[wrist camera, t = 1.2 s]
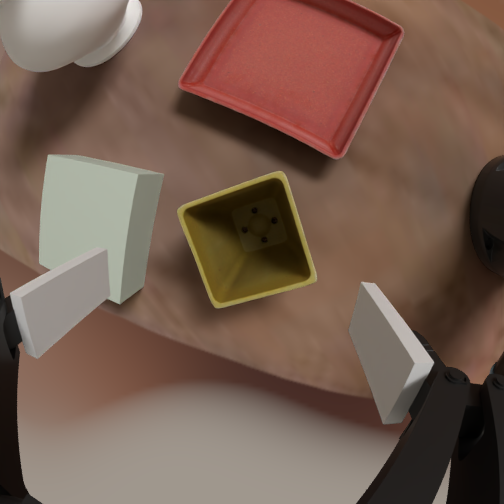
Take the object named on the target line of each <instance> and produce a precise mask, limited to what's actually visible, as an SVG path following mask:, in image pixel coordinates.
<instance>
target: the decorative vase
mask: <svg viewBox="0 0 504 504" xmlns="http://www.w3.org/2000/svg"><path fill="white" fill-rule="evenodd" d="M141 17H142V6H141V3H140V2H139V0H0V37H1V40H2V43H3V46H4V48H5V50H6V52H7V54H8V55H9V57H10V58H11V60H12V61H13V62H14V63H15V64H17V65H18V66H20V67H21V68H23V69H26V70H29V71H33V72H47V71H52V70H55V69H58V68H61V67H63V66H66V65H68V64H70V63H72V62H74V63H76V64H77V65H79V66H82V67H93V66H97V65H99V64H102V63H104V62H105V61H107V60H109V59H110V58H112V57H113V56H114V55H116V54H117V53H118V52H119V51H120V50H121V49H122V48H123V47H124V46H125V45H126V44H127V43H128V41H129V40H130V39H131V38H132V36H133V35H134V33H135V31H136V30H137V28H138V26H139V23H140V20H141Z"/></svg>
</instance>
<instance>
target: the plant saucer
mask: <svg viewBox="0 0 504 504" xmlns="http://www.w3.org/2000/svg"><path fill="white" fill-rule="evenodd" d="M403 36H404V30H403V28H402V27H401V26H399V25H398V24H396V23H394V22H392V21H391V20H389V19H387V18H385V17H383V16H382V15H380V14H378V13H376V12H374V11H372V10H370V9H368V8H366V7H364V6H361V5H359V4H357V3H355V2H353V1H351V0H231V1H230V2H229V4H228V5H227V6H226V8H225V9H224V10H223V12H222V13H221V14H220V16H219V17H218V19H217V20H216V21H215V23H214V24H213V26H212V27H211V29H210V30H209V32H208V33H207V35H206V36H205V38H204V39H203V41H202V42H201V44H200V46H199V47H198V49H197V50H196V52H195V54H194V55H193V57H192V58H191V60H190V62H189V63H188V65H187V67H186V69H185V70H184V72H183V74H182V75H181V77H180V79H179V81H178V86H179V88H180V89H181V90H184V91H187V92H189V93H192V94H195V95H197V96H200V97H202V98H205V99H208V100H210V101H213V102H215V103H218V104H220V105H222V106H225V107H227V108H230V109H232V110H234V111H236V112H239V113H242V114H244V115H246V116H248V117H251V118H253V119H255V120H257V121H260V122H262V123H264V124H266V125H268V126H270V127H273V128H275V129H277V130H279V131H281V132H283V133H285V134H287V135H289V136H291V137H293V138H295V139H297V140H299V141H301V142H303V143H305V144H307V145H308V146H310V147H312V148H314V149H316V150H318V151H319V152H321V153H323V154H325V155H327V156H329V157H330V158H332V159H335V160H338V159H341V158H343V156H344V155H345V153H346V151H347V150H348V148H349V146H350V144H351V142H352V140H353V138H354V136H355V134H356V132H357V130H358V128H359V126H360V124H361V122H362V120H363V118H364V117H365V115H366V112H367V110H368V108H369V106H370V104H371V102H372V100H373V98H374V96H375V94H376V92H377V91H378V88H379V86H380V84H381V82H382V80H383V78H384V76H385V74H386V72H387V70H388V68H389V66H390V64H391V62H392V60H393V58H394V55H395V53H396V51H397V49H398V47H399V45H400V43H401V41H402V39H403Z"/></svg>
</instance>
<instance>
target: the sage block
mask: <svg viewBox="0 0 504 504" xmlns="http://www.w3.org/2000/svg"><path fill="white" fill-rule="evenodd" d="M163 177H164V174H161V173H157V172H153V171H149V170H144V169H140V168H136V167H131V166H127V165H123V164H118V163H113V162H109V161H104V160H99V159H94V158H90V157H85V156H80V155H48V158H47V164H46V171H45V178H44V186H43V194H42V205H41V218H40V239H39V264H41V265H43V266H45V267H46V268H48V269H50V270H52V269H54V268H56V267H58V266H60V265H62V264H64V263H66V262H68V261H70V260H72V259H74V258H76V257H78V256H80V255H82V254H84V253H86V252H88V251H90V250H92V249H94V248H96V247H98V248H105V249H107V251H108V271H109V285H110V297H108V298H107V299H109V300H111V301H113V302H116V303H118V304H121V303H122V302H124V301H125V300H126V299H128V298H129V297H130V296H132V295H133V294H134V293H136V292H137V291H138V290H140V289H141V288H143V287H144V281H145V274H146V267H147V260H148V254H149V248H150V242H151V236H152V231H153V225H154V220H155V215H156V210H157V205H158V200H159V195H160V190H161V186H162V181H163Z"/></svg>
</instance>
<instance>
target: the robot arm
mask: <svg viewBox="0 0 504 504" xmlns="http://www.w3.org/2000/svg"><path fill="white" fill-rule="evenodd" d="M470 229H471V236H472V241H473V244H474V247H475V250H476V253H477V255H478V257H479V258H480V260H481V261H482V263H483V264H484V265H485V266H486V267H487V268H488V269H490V270H491V271H493V272H495V273H496V274H498V275H500V276H502V277H504V155H502V156H498V157H496V158H494V159H492V160H491V161H490V162H489V163H488V164H487V165H486V166H485V167H484V168H483V170H482V171H481V173H480V175H479V177H478V179H477V181H476V184H475V187H474V190H473V194H472V199H471V206H470ZM108 297H110V285H109V271H108V251H107V249H105V248H98V247H96V248H94V249H92V250H90V251H88V252H86V253H84V254H82V255H80V256H78V257H76V258H74V259H72V260H70V261H68V262H66V263H64V264H62V265H60V266H58V267H56V268H54V269H52V270H51V271H49V272H47V273H45V274H43V275H41V276H39V277H38V278H36V279H34V280H32V281H30V282H28V283H27V284H25V285H23V286H21V287H20V288H18V289H17V290H14V291H13V292H11V293H10V296H8V297H6V298H5V297H4V293H3V288H2V283H1V278H0V504H42V503H41V502H39V501H38V500H36V499H35V498H33V497H32V496H30V494H29V493H28V491H27V489H26V487H25V485H24V481H23V476H22V469H21V462H20V453H19V442H18V426H17V384H18V366H19V356H20V351H19V348H18V344H19V343H20V342H23V345H24V348H25V351H26V353H27V354H29V355H31V356H33V357H35V358H37V359H38V358H39V357H40V356H41V355H42V354H44V353H45V352H46V351H47V350H48V349H49V348H50V347H51V346H52V345H54V343H56V342H57V341H58V340H59V339H60V338H61V337H63V336H64V335H65V334H66V333H67V332H68V331H69V330H70V329H72V328H73V327H74V326H75V325H76V324H77V323H79V322H80V321H81V320H82V319H83V318H84V317H85V316H87V315H88V314H89V313H90V312H92V311H93V310H94V309H95V308H96V307H97V306H99V305H100V304H101V303H102V302H103V301H105V300H106V299H107V298H108ZM348 331H349V334H350V336H351V339H352V341H353V344H354V346H355V349H356V351H357V354H358V356H359V359H360V362H361V364H362V367H363V370H364V372H365V375H366V378H367V380H368V383H369V386H370V389H371V391H372V394H373V397H374V400H375V403H376V405H377V408H378V411H379V414H380V417H381V419H382V423H383V424H394V423H402V421H403V419H404V418H405V416H406V414H407V413H408V411H409V413H410V415H411V418H412V420H411V421H410V423H409V424H408V426H407V427H406V429H405V430H404V432H403V433H402V435H401V436H400V438H399V439H400V440H399V442H398V444H397V445H396V447H395V449H394V450H393V452H392V454H391V455H390V457H389V458H388V460H387V461H386V463H385V464H384V466H383V468H382V469H381V470H380V472H379V474H378V475H377V476H376V478H375V479H374V481H373V482H372V483H371V485H370V486H369V488H368V489H367V490H366V492H365V493H364V494H363V496H362V497H361V498H360V499H359V501H358V502H357V503H356V504H432V503H433V500H434V498H435V496H436V494H437V492H438V489H439V487H440V485H441V482H442V480H443V478H444V475H445V472H446V470H447V467H448V464H449V462H450V459H451V468H450V478H449V487H448V495H447V501H446V504H504V352H503V353H502V355H501V357H500V358H499V360H498V361H497V362H496V363H495V364H494V365H493V366H492V368H491V370H490V374H489V375H488V376H487V378H486V379H485V381H484V383H483V385H480V384H473V383H470V380H469V378H468V376H467V375H466V374H465V373H463V372H462V371H460V370H458V369H456V368H452V367H446V366H445V365H444V364H443V362H442V361H441V360H440V358H439V357H438V355H437V354H436V353H435V351H433V349H432V347H431V346H430V345H429V343H428V342H427V341H426V339H425V338H424V337H423V336H422V335H420V334H419V333H418V332H416V331H412V330H411V329H410V328H409V327H408V325H407V324H406V323H405V321H404V320H403V319H402V317H401V316H400V315H399V313H398V312H397V311H396V310H395V308H394V307H393V306H392V304H391V303H390V302H389V301H388V299H387V298H386V297H385V295H384V294H383V293H382V292H381V290H380V289H379V288H378V287H377V285H376V284H374V283H365V282H361V285H360V289H359V293H358V297H357V301H356V305H355V308H354V312H353V316H352V319H351V323H350V326H349V330H348Z"/></svg>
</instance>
